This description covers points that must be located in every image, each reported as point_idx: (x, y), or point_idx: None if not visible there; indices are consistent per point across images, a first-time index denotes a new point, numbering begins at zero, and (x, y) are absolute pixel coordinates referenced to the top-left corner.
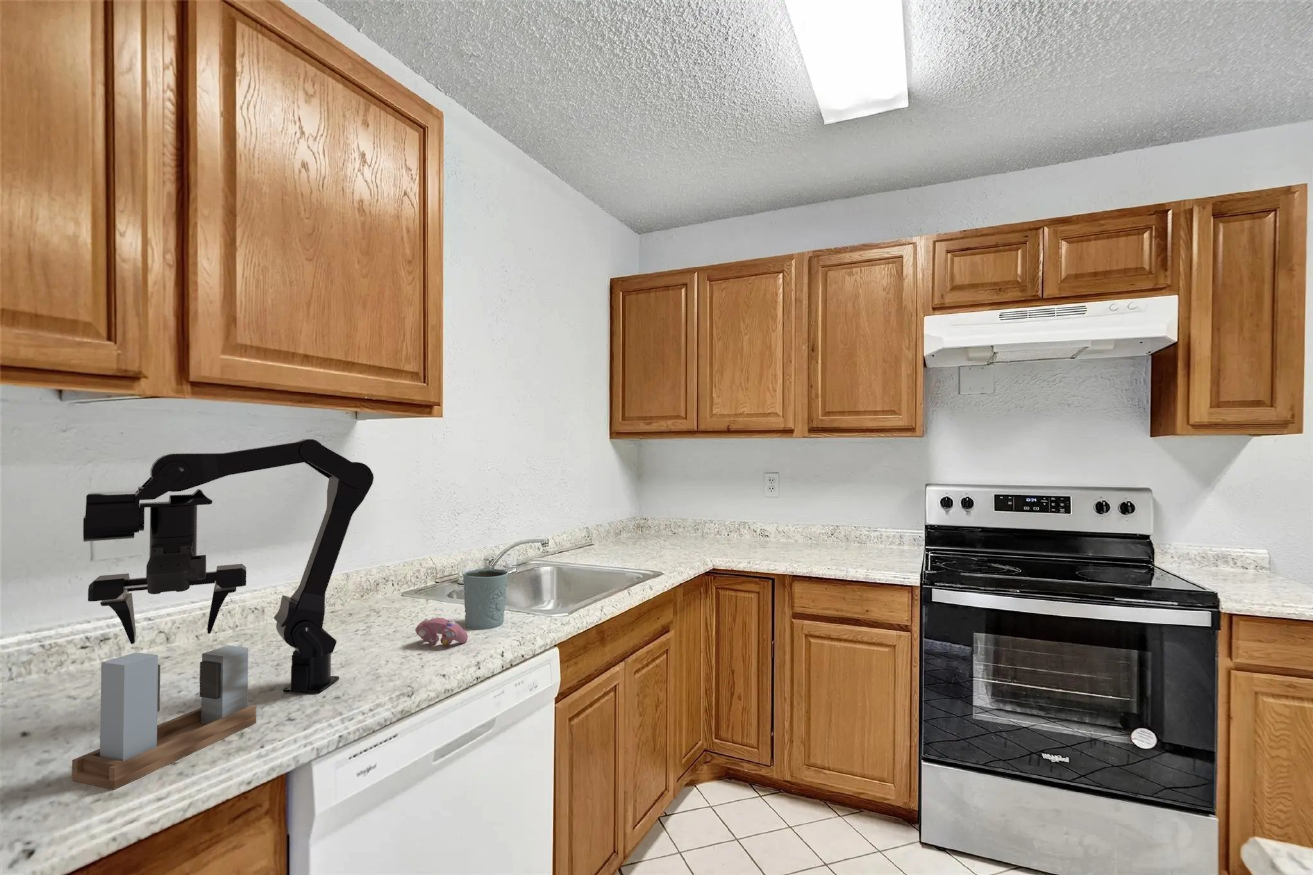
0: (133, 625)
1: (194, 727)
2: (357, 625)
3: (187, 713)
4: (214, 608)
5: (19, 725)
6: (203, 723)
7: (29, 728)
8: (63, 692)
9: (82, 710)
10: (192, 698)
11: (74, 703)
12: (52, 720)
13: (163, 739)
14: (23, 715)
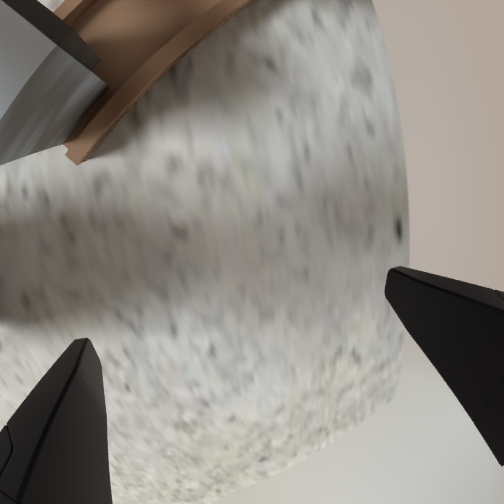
0: (447, 317)
1: (121, 60)
2: None
3: (139, 88)
4: (11, 453)
5: None
6: (104, 78)
7: (395, 251)
8: (363, 373)
9: (345, 304)
10: (176, 307)
11: (354, 335)
12: (375, 273)
13: (179, 17)
14: None
